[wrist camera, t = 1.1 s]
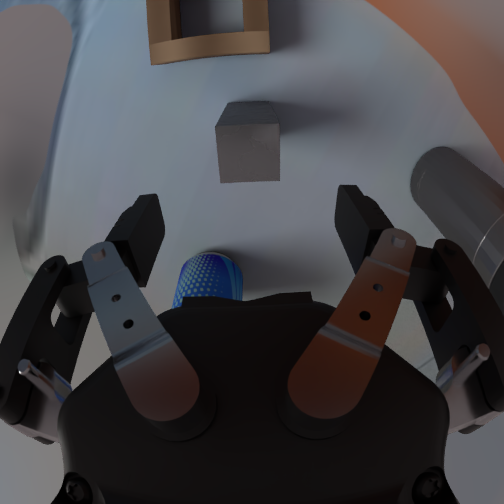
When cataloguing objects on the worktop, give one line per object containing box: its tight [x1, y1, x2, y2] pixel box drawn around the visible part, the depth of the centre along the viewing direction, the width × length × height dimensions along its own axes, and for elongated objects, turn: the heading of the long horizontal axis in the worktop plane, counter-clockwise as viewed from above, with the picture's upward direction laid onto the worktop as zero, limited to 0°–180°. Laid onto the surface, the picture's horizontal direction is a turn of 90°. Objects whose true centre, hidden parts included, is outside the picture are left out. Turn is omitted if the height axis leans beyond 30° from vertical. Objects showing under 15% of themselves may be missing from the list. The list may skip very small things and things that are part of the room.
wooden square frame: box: [146, 0, 270, 65], centre depth 17 cm, size 10×10×4 cm
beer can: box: [172, 252, 243, 309], centre depth 32 cm, size 8×8×16 cm
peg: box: [215, 101, 280, 183], centre depth 22 cm, size 4×4×11 cm
